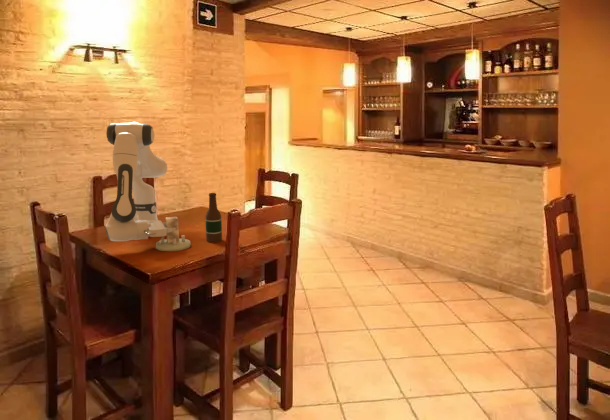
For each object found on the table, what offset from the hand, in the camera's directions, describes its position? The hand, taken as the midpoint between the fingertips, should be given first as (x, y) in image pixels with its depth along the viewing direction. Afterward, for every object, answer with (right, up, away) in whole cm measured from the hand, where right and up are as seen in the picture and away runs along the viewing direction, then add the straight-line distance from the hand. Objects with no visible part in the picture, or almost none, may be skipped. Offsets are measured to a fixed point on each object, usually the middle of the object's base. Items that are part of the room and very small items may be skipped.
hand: (173, 226), depth 232 cm
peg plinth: (-1, -9, +2) cm, 10 cm away
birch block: (-1, -7, +1) cm, 8 cm away
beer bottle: (+17, -7, +13) cm, 22 cm away
